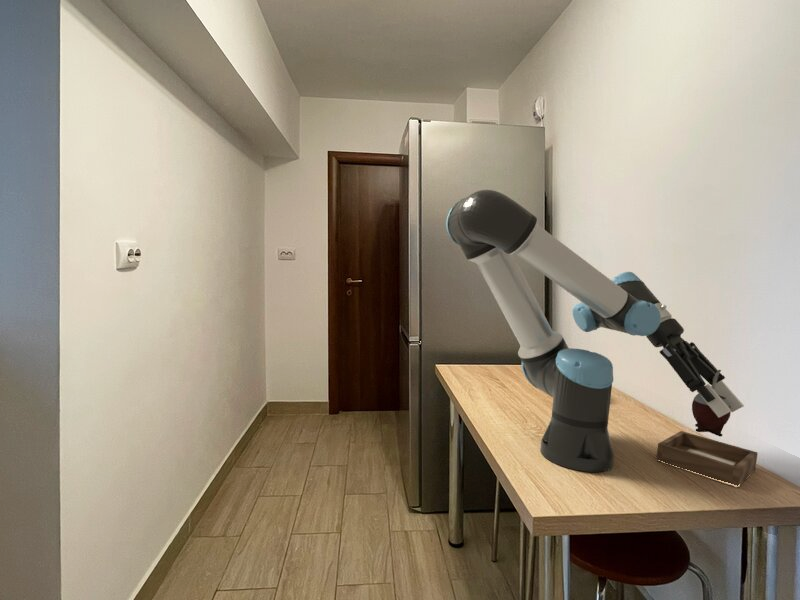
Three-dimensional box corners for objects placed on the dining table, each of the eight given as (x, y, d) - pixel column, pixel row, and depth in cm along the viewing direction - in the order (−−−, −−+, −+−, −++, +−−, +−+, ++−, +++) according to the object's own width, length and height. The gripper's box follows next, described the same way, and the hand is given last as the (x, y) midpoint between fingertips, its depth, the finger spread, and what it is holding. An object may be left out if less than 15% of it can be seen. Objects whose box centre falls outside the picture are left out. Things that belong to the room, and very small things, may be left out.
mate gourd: (707, 424, 103) (714, 361, 102) (739, 438, 96) (748, 369, 94) (680, 425, 101) (687, 361, 100) (711, 439, 94) (719, 369, 93)
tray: (737, 488, 89) (739, 469, 88) (656, 460, 100) (658, 443, 100) (755, 469, 98) (757, 452, 98) (679, 446, 110) (681, 430, 109)
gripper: (652, 317, 99) (730, 409, 87) (689, 315, 111) (763, 397, 99) (626, 337, 104) (697, 427, 92) (665, 333, 115) (732, 413, 103)
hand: (731, 411), depth 95 cm, fingers closed on mate gourd, 7 cm apart
